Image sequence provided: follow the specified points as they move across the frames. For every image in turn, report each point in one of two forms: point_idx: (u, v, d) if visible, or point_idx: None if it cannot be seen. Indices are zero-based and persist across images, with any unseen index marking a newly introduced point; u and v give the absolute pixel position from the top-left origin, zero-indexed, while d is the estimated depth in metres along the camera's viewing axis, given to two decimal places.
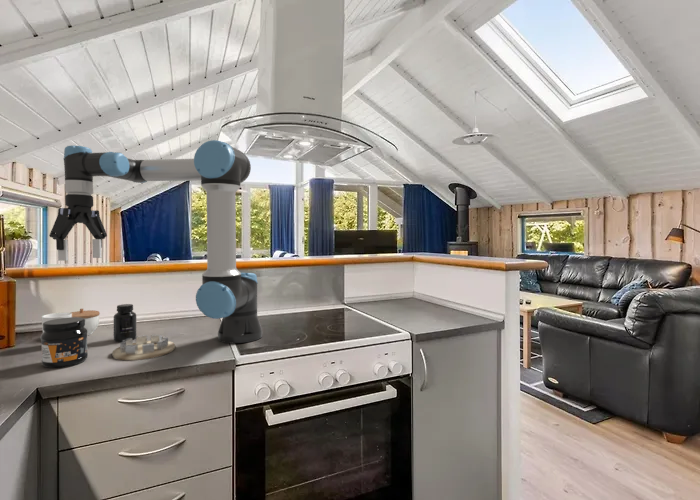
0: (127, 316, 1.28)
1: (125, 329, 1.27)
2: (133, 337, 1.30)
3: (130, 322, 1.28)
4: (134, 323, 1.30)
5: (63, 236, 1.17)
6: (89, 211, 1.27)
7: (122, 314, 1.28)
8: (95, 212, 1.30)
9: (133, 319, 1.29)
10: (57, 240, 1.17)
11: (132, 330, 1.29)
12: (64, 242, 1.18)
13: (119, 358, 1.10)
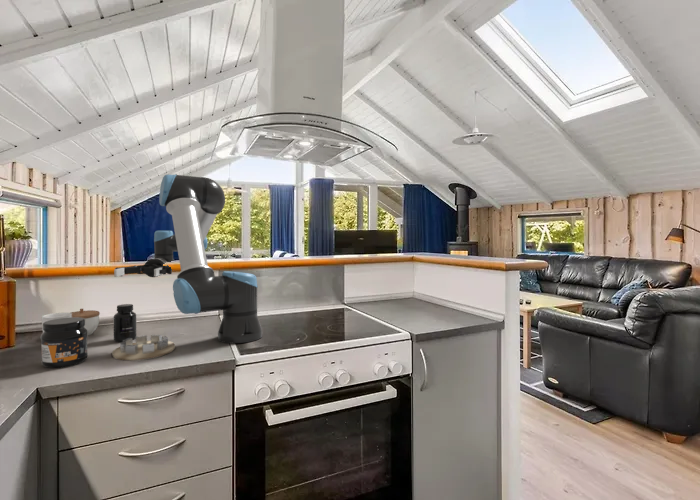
0: (127, 316, 1.28)
1: (125, 329, 1.27)
2: (133, 337, 1.30)
3: (130, 322, 1.28)
4: (134, 323, 1.30)
5: None
6: None
7: (122, 314, 1.28)
8: None
9: (133, 319, 1.29)
10: None
11: (132, 330, 1.29)
12: None
13: (119, 358, 1.10)
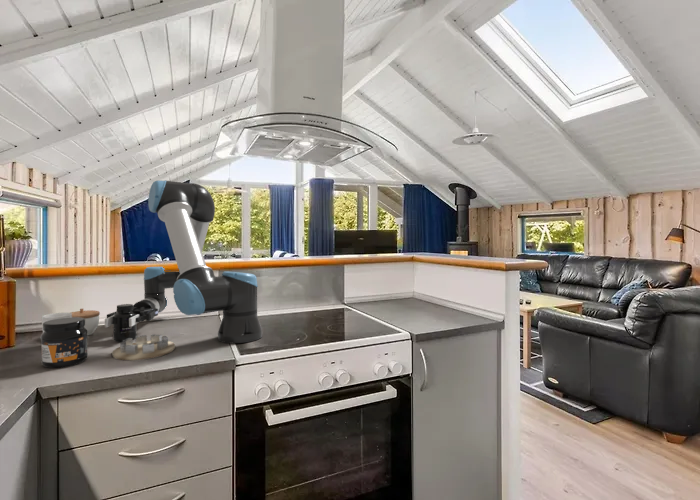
0: (127, 316, 1.28)
1: (125, 329, 1.27)
2: (133, 337, 1.30)
3: None
4: None
5: (113, 314, 1.32)
6: (148, 308, 1.43)
7: (122, 313, 1.28)
8: None
9: None
10: None
11: (132, 330, 1.29)
12: None
13: (119, 358, 1.10)
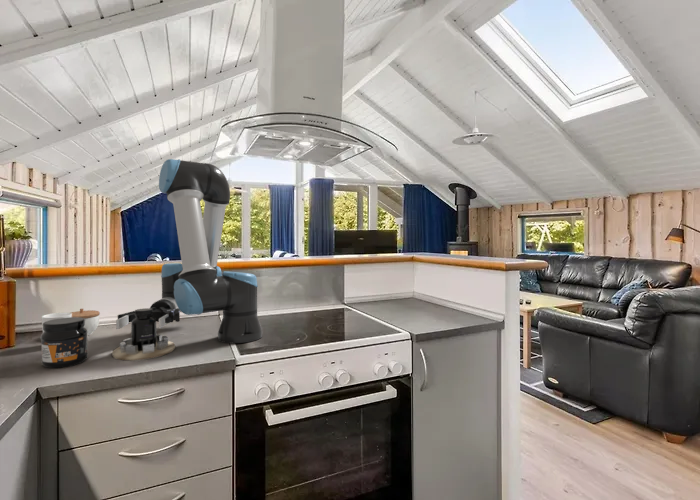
0: (147, 321, 1.15)
1: (144, 337, 1.15)
2: None
3: (150, 328, 1.16)
4: (154, 329, 1.17)
5: (125, 315, 1.20)
6: (167, 309, 1.30)
7: (141, 319, 1.15)
8: None
9: (153, 325, 1.17)
10: None
11: (152, 337, 1.16)
12: None
13: (119, 358, 1.10)
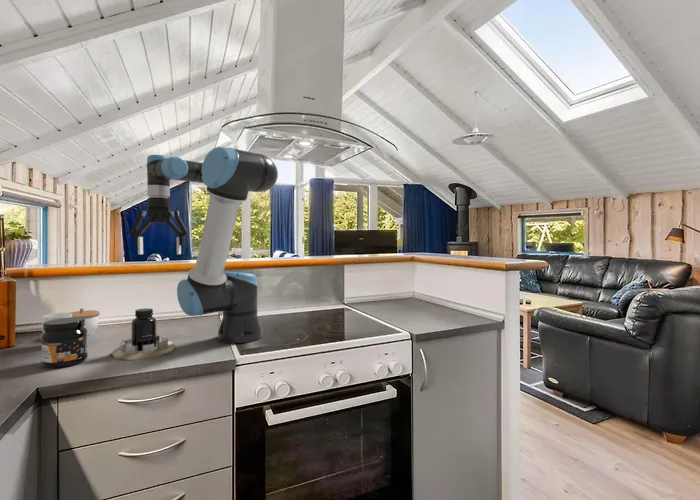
0: (147, 322, 1.15)
1: (144, 337, 1.15)
2: None
3: (150, 328, 1.16)
4: (154, 330, 1.17)
5: (136, 234, 1.40)
6: (165, 211, 1.41)
7: (141, 319, 1.15)
8: None
9: (153, 325, 1.17)
10: None
11: (152, 337, 1.16)
12: None
13: (119, 358, 1.10)
